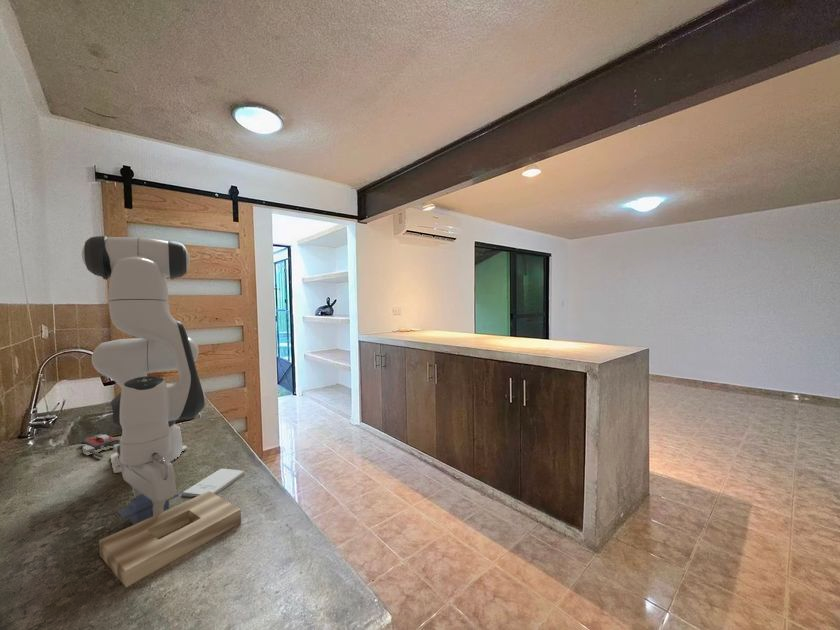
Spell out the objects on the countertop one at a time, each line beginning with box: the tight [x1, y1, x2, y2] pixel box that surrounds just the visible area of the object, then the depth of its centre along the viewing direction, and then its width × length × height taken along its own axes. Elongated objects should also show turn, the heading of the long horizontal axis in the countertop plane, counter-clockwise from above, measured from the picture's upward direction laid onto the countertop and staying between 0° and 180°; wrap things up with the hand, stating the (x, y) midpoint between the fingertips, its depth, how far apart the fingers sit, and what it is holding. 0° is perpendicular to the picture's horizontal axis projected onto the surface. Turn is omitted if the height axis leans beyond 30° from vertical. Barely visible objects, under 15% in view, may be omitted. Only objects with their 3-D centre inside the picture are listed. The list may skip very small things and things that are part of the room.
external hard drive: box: [181, 468, 245, 498], centre depth 90 cm, size 2×8×12 cm
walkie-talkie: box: [79, 433, 120, 458], centre depth 113 cm, size 9×4×20 cm
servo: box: [117, 491, 180, 525], centre depth 76 cm, size 4×10×6 cm, turn 148°
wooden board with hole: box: [98, 491, 242, 588], centre depth 69 cm, size 14×20×3 cm
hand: (149, 508), depth 75 cm, fingers open, 8 cm apart
